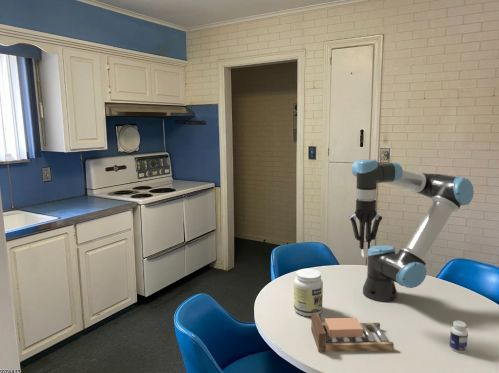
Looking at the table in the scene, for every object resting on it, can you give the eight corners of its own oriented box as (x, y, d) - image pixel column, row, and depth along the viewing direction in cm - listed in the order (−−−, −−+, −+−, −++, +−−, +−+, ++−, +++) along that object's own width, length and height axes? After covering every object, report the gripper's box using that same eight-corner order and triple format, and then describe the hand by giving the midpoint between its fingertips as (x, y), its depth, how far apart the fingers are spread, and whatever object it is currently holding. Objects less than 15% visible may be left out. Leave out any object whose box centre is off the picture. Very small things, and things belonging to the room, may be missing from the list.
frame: (378, 328, 148) (379, 311, 147) (393, 350, 134) (394, 332, 132) (311, 330, 147) (311, 313, 146) (318, 352, 133) (319, 333, 132)
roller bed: (324, 329, 146) (324, 323, 145) (377, 328, 146) (377, 322, 145) (330, 346, 135) (331, 339, 134) (387, 344, 135) (388, 338, 135)
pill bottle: (445, 344, 137) (447, 319, 135) (460, 344, 137) (462, 318, 135) (455, 353, 131) (457, 327, 130) (469, 352, 132) (472, 326, 130)
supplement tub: (315, 320, 155) (316, 281, 152) (288, 312, 161) (289, 275, 158) (326, 308, 165) (327, 271, 162) (300, 301, 171) (301, 265, 168)
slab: (356, 325, 144) (356, 317, 143) (362, 336, 136) (363, 329, 136) (324, 325, 144) (324, 318, 143) (329, 337, 136) (329, 329, 135)
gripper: (378, 196, 153) (376, 252, 157) (346, 197, 152) (345, 253, 156) (386, 200, 145) (383, 259, 149) (352, 201, 145) (351, 260, 149)
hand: (364, 256), depth 153 cm, fingers closed
